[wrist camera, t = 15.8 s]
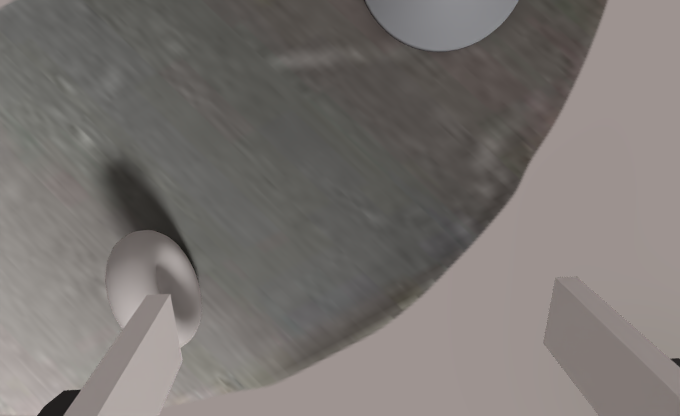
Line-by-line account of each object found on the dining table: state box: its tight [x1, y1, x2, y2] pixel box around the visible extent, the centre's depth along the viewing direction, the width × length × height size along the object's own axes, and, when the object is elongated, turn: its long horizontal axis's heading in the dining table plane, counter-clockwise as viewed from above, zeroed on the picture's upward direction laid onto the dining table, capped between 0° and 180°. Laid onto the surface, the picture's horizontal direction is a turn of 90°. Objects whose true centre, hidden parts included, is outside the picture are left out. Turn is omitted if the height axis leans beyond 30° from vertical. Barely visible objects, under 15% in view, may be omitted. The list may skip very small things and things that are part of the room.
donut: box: [105, 230, 202, 348], centre depth 34 cm, size 10×4×10 cm, turn 22°
